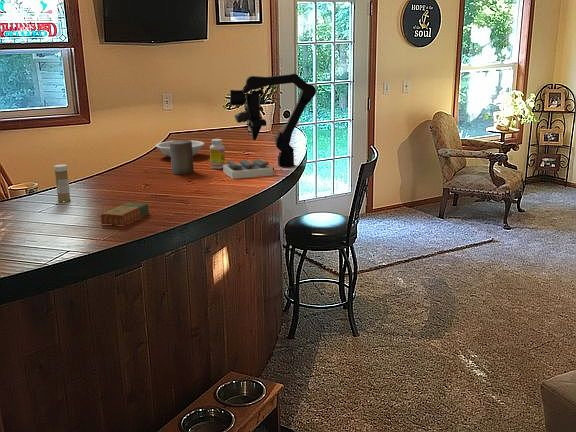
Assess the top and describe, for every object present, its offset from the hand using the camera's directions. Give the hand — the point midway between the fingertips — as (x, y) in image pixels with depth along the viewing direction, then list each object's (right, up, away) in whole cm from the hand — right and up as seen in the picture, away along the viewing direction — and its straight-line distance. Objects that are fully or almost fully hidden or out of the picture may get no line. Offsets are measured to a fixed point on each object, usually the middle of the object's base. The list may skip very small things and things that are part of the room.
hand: (254, 139), depth 286 cm
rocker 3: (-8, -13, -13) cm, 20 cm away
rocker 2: (-2, -12, -11) cm, 16 cm away
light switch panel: (-1, -16, -9) cm, 18 cm away
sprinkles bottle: (-67, -29, -52) cm, 90 cm away
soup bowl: (-38, -5, +31) cm, 50 cm away
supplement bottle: (-17, -12, +4) cm, 21 cm away
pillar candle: (-32, -15, -5) cm, 35 cm away
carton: (-38, -36, -77) cm, 93 cm away
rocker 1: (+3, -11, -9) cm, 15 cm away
